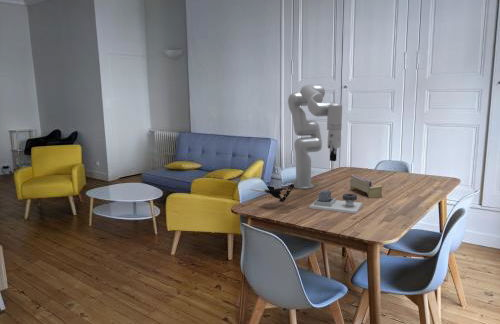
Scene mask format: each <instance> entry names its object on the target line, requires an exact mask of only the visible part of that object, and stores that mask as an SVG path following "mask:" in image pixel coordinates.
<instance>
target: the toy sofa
mask: <svg viewBox="0 0 500 324" xmlns="http://www.w3.org/2000/svg"><path fill="white" fill-rule="evenodd" d="M349 183H350V185H349V186H350V187H349V191H356V190H358V191H362V192H364V193H366V194H367V197H368V199H372V198H380V197H382V191H383V190H382V189H383V185H381V184H380V185H374V186H373V185H372V180H369V179H368V180H367V179H365V178H362V177H359V176H357V175H355V174H350V179H349Z"/></svg>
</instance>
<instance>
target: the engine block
mask: <svg viewBox="0 0 500 324" xmlns="http://www.w3.org/2000/svg"><path fill="white" fill-rule="evenodd" d="M318 198H319V202H328V203H330V202H331V198H332V191H331V190H329V189H322V190H321V191H319V192H318Z"/></svg>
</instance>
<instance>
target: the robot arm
mask: <svg viewBox="0 0 500 324" xmlns="http://www.w3.org/2000/svg"><path fill="white" fill-rule="evenodd" d="M325 95H326V90H325V88H324V86H322V85H321V84H306V85H304V86H301V88H300V92H299V91H297V92H292V93H291V94H289V95H288V97H287V98H288V99H287V104H288V108H289V111H290V113H291V116H292V124H293V129H294V133H295V135H296V136H299V138H297V139H295V141H294V143H293V144H294V151H295V179H290V180H289V182H290V183H291V184H293V185H294V188H296V189H301V190H309V189H313V187H314V184H313V183H312V158H311V156H310V155H309V153H317V152H319V151H321V150H322V148H323V141H322V135H321V128H320V125H319V123H318V121H316V120H308V119H307V116H306V115H307V114H306V112H305V111H304V109H303V108H302V106H303V107H305V106H307V110H308V111H309V113H311V114H312V116H314V117H317V118H319V117H326V118H327V119H326V121H327V122H326V130H327V131H328V132H327V148H328V149H329V161H330V162H336V161H337V153H338V149H339V148H340V147H341V143H342V142H341V140H342V137H341V131H342V126H343V125H342V121H343V105H342V104H341V103H336V102H333V101H329V102H327V101H326V102H324V100H323V99H324V97H325ZM309 136H310V137H309Z"/></svg>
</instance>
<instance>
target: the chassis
mask: <svg viewBox="0 0 500 324" xmlns="http://www.w3.org/2000/svg"><path fill="white" fill-rule="evenodd" d="M362 206H363V202H359V201H358V202H356V201H346V200H339V199H337V198H335V197H331V202H330V203H328V202H319V197H317V198H315V200H314V201H313V203H311V204H310V205H309V206H308V207H309V209H313V210H322V211H329V212H339V213H346V214H347V213H348V214H357V213H358V212H359V211H360V209H361V208H362Z"/></svg>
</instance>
